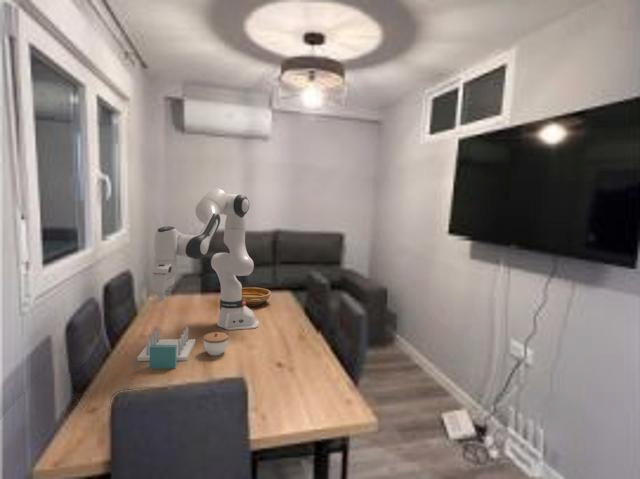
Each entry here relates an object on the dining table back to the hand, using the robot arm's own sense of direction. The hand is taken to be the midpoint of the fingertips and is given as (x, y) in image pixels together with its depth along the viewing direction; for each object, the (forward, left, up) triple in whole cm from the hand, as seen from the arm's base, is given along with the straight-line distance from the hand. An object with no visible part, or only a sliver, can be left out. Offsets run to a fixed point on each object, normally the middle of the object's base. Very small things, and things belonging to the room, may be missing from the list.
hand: (164, 298), depth 162 cm
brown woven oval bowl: (-34, -84, -27) cm, 95 cm away
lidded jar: (-21, -6, -27) cm, 34 cm away
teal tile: (-2, +8, -27) cm, 28 cm away
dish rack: (0, -8, -27) cm, 28 cm away
